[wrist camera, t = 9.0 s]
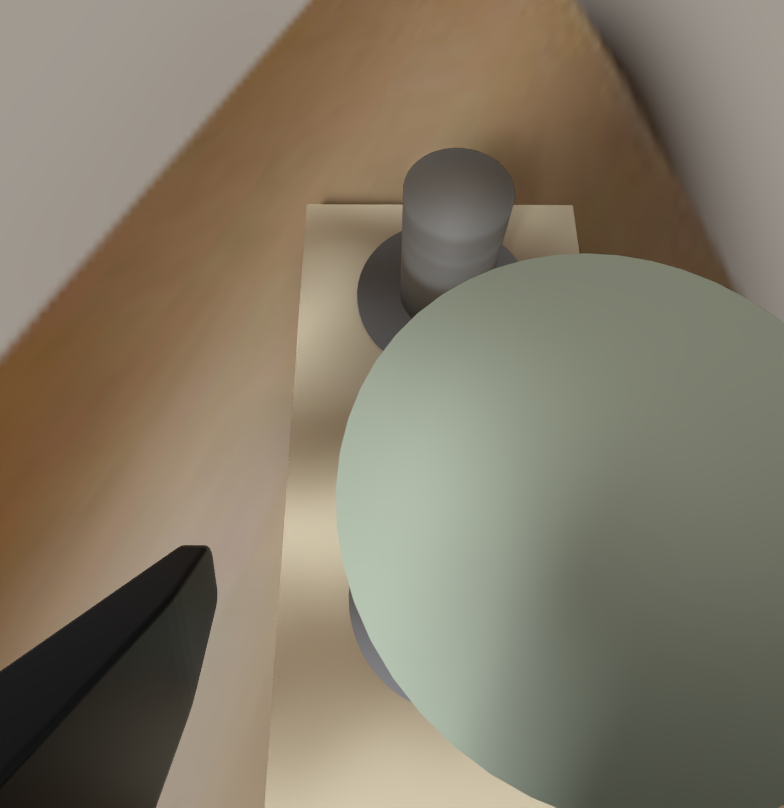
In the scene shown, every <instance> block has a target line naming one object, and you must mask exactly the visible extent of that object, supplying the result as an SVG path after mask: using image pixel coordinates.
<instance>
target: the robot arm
mask: <svg viewBox="0 0 784 808" xmlns="http://www.w3.org/2000/svg"><path fill="white" fill-rule="evenodd" d="M216 604H217V585H216V578H215V571H214V564H213V557H212V552H211V550H210V548H209V547H208V546H205V545H184V546H180V547H178V548H177V549H175V550H174V551H172V552H171V553H170V554H168V555H167V556H165V557H164V558H162V559H161V560H160V561H158V562H157V563H155V564H154V565H152V566H151V567H149V568H148V569H147V570H145V571H144V572H142V573H141V574H139V575H138V576H137V577H135V578H134V579H132V580H131V581H129V582H128V583H126V584H125V585H124V586H122V587H121V588H119V589H118V590H116V591H115V592H114V593H112V594H111V595H109V596H108V597H106V598H105V599H103V600H102V601H101V602H99V603H98V604H96V605H95V606H93V607H92V608H91V609H89V610H88V611H86V612H85V613H83V614H82V615H80V616H79V617H78V618H76V619H75V620H73V621H72V622H70V623H69V624H68V625H66V626H65V627H63V628H62V629H60V630H59V631H57V632H56V633H55V634H53V635H52V636H50V637H49V638H47V639H46V640H45V641H43V642H42V643H40V644H39V645H37V646H36V647H34V648H33V649H32V650H30V651H29V652H27V653H26V654H24V655H23V656H22V657H20V658H19V659H17V660H16V661H14V662H13V663H11V664H10V665H9V666H7V667H6V668H4V669H3V670H1V671H0V808H156V806H157V803H158V800H159V797H160V794H161V792H162V789H163V786H164V783H165V781H166V778H167V775H168V772H169V769H170V767H171V764H172V761H173V758H174V756H175V753H176V750H177V747H178V744H179V742H180V739H181V736H182V733H183V730H184V728H185V725H186V722H187V719H188V716H189V713H190V710H191V707H192V704H193V700H194V696H195V693H196V689H197V685H198V680H199V676H200V672H201V668H202V664H203V659H204V655H205V651H206V647H207V643H208V639H209V634H210V630H211V626H212V622H213V618H214V613H215V609H216Z"/></svg>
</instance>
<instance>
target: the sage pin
mask: <svg viewBox="0 0 784 808" xmlns="http://www.w3.org/2000/svg"><path fill="white" fill-rule="evenodd" d="M336 515H337V530H338V536H339V543H340V549H341V556H342V562H343V566H344V569H345V573H346V576H347V580H348V583H349V587H350V590H351V594H352V597H353V601H354V603H355V605H356V608H357V610H358V612H359V615H360V617H361V619H362V622H363V624H364V626H365V629H366V631H367V633H368V635H369V638H370V640H371V642H372V644H373V645H374V647H375V649H376V650H377V652H378V654H379V655H380V657H381V659H382V660H383V662H384V664H385V665H386V667H387V669H388V670H389V672H390V674H391V676H392V677H393V679H394V680H395V681H396V682H397V684H398V685H399V686H400V688H401V689H402V690H403V691H404V693H405V694H406V695H407V697H408V698H409V699H410V700H411V702H412V703H413V704H414V706H415V707H416V708H417V709H418V711H419V712H420V713H421V714H422V715H423V716H424V717H425V718H426V719H427V720H428V721H429V722H430V723H431V724H432V725H433V726H434V727H435V728H436V729H437V730H438V731H439V732H440V733H441V734H442V735H443V736H444V737H445V738H446V739H447V740H448V741H449V742H450V743H451V744H452V745H453V746H454V747H456V748H457V749H458V750H459V751H461V752H462V753H463V754H465V755H466V756H467V757H469V758H470V759H471V760H473V761H474V762H475V763H477V764H478V765H479V766H480V767H482V768H483V769H484V770H486V771H487V772H488V773H490V774H491V775H493V776H495V777H496V778H498V779H500V780H502V781H503V782H505V783H507V784H509V785H510V786H512V787H514V788H516V789H517V790H519V791H521V792H523V793H524V794H526V795H528V796H530V797H531V798H534V799H536V800H539V801H541V802H544V803H546V804H549V805H551V806H554V807H556V808H777V807H779V806H782V805H784V324H783V323H782V322H781V321H780V320H778V319H777V318H776V317H775V316H773V315H772V314H770V313H768V312H767V311H765V310H764V309H762V308H761V307H759V306H757V305H756V304H754V303H753V302H751V301H750V300H748V299H747V298H745V297H743V296H741V295H739V294H737V293H735V292H733V291H731V290H729V289H727V288H725V287H723V286H722V285H720V284H718V283H716V282H713V281H711V280H708V279H706V278H703V277H701V276H698V275H696V274H693V273H690V272H688V271H685V270H683V269H679V268H675V267H672V266H668V265H665V264H661V263H657V262H654V261H650V260H644V259H638V258H632V257H626V256H620V255H606V254H590V253H584V254H563V255H552V256H546V257H539V258H533V259H527V260H523V261H519V262H516V263H512V264H509V265H505V266H502V267H498V268H495V269H493V270H490V271H488V272H486V273H483V274H481V275H478V276H476V277H474V278H471V279H469V280H467V281H465V282H463V283H462V284H460V285H458V286H456V287H455V288H453V289H451V290H449V291H448V292H446V293H444V294H443V295H441V296H440V297H438V298H437V299H436V300H434V301H433V302H432V303H431V304H429V305H428V306H427V307H425V308H424V309H423V310H421V311H420V312H419V313H417V314H416V315H415V316H414V317H413V318H412V319H411V320H410V321H409V322H408V323H407V324H406V325H405V326H404V327H403V328H402V329H401V330H400V331H399V332H398V333H397V334H396V335H395V337H394V338H393V339H392V341H391V342H390V343H389V344H388V346H387V347H386V348H385V350H384V351H383V352H382V354H381V355H380V356H379V357H378V359H377V360H376V362H375V364H374V365H373V367H372V369H371V371H370V372H369V374H368V376H367V378H366V379H365V381H364V383H363V385H362V386H361V388H360V391H359V393H358V396H357V398H356V401H355V403H354V406H353V408H352V411H351V413H350V415H349V418H348V422H347V426H346V430H345V434H344V438H343V441H342V445H341V449H340V456H339V464H338V473H337V482H336Z"/></svg>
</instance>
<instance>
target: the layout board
mask: <svg viewBox="0 0 784 808" xmlns="http://www.w3.org/2000/svg"><path fill="white" fill-rule="evenodd" d="M514 200H515V189H514V184H513V181H512V179H511V177H510V175H509V173H508V172H507V171H506V169H505V168H504V167H503V166H502V165H501V164H500V163H499V162H497V161H496V160H495V159H493V158H492V157H490V156H488V155H486V154H484V153H481V152H479V151H475V150H471V149H465V148H448V149H442V150H438V151H435V152H432V153H430V154H428V155H426V156H424V157H423V158H421V159H420V160H418V161H417V162H416V163H415V164H414V165H413V166H412V167H411V169H410V170H409V172H408V173H407V175H406V178H405V181H404V185H403V205H361V204H307V207H306V221H305V236H304V250H303V264H302V279H301V293H300V307H299V321H298V336H297V350H296V364H295V379H294V393H293V407H292V421H291V436H290V450H289V464H288V478H287V493H286V507H285V521H284V536H283V550H282V564H281V578H280V593H279V607H278V621H277V636H276V650H275V664H274V678H273V693H272V707H271V721H270V735H269V750H268V764H267V778H266V793H265V807H264V808H556V807H554V806H551V805H549V804H546V803H544V802H541V801H539V800H536V799H534V798H531V797H530V796H528V795H526V794H524V793H523V792H521V791H519V790H517V789H516V788H514V787H512V786H510V785H509V784H507V783H505V782H503V781H502V780H500V779H498V778H496V777H495V776H493V775H491V774H490V773H488V772H487V771H486V770H484V769H483V768H482V767H480V766H479V765H478V764H477V763H475V762H474V761H473V760H471V759H470V758H469V757H467V756H466V755H465V754H463V753H462V752H461V751H459V750H458V749H457V748H456V747H454V746H453V745H452V744H451V743H450V742H449V741H448V740H447V739H446V738H445V737H444V736H443V735H442V734H441V733H440V732H439V731H438V730H437V729H436V728H435V727H434V726H433V725H432V724H431V723H430V722H429V721H428V720H427V719H426V718H425V717H424V716H423V715H422V714H421V713H420V712H419V711H418V709H417V708H416V707H415V706H414V704H413V703H412V702H411V700H410V699H409V698H408V697H407V695H406V694H405V693H404V691H403V690H402V689H401V688H400V686H399V685H398V684H397V682H396V681H395V680H394V679H393V677H392V676H391V674H390V672H389V670H388V669H387V667H386V665H385V664H384V662H383V660H382V659H381V657H380V655H379V654H378V652H377V650H376V649H375V647H374V645H373V644H372V642H371V640H370V638H369V635H368V633H367V631H366V629H365V626H364V624H363V622H362V619H361V617H360V615H359V612H358V610H357V608H356V605H355V603H354V601H353V597H352V594H351V590H350V587H349V583H348V580H347V576H346V573H345V569H344V566H343V562H342V556H341V549H340V543H339V536H338V530H337V515H336V482H337V473H338V464H339V456H340V449H341V445H342V441H343V438H344V434H345V430H346V426H347V422H348V418H349V415H350V413H351V411H352V408H353V406H354V403H355V401H356V398H357V396H358V393H359V391H360V388H361V386H362V385H363V383H364V381H365V379H366V378H367V376H368V374H369V372H370V371H371V369H372V367H373V365H374V364H375V362H376V360H377V359H378V357H379V356H380V355H381V354H382V352H383V351H384V350H385V348H386V347H387V346H388V344H389V343H390V342H391V341H392V339H393V338H394V337H395V335H396V334H397V333H398V332H399V331H400V330H401V329H402V328H403V327H404V326H405V325H406V324H407V323H408V322H409V321H410V320H411V319H412V318H413V317H414V316H415V315H416V314H417V313H419V312H420V311H421V310H423V309H424V308H425V307H427V306H428V305H429V304H431V303H432V302H433V301H434V300H436V299H437V298H438V297H440V296H441V295H443V294H444V293H446V292H448V291H449V290H451V289H453V288H455V287H456V286H458V285H460V284H462V283H463V282H465V281H467V280H469V279H471V278H474V277H476V276H478V275H481V274H483V273H486V272H488V271H490V270H493V269H495V268H498V267H502V266H505V265H509V264H512V263H516V262H519V261H523V260H527V259H533V258H539V257H546V256H552V255H563V254H579V246H578V239H577V232H576V225H575V218H574V211H573V205H513V204H514Z"/></svg>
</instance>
